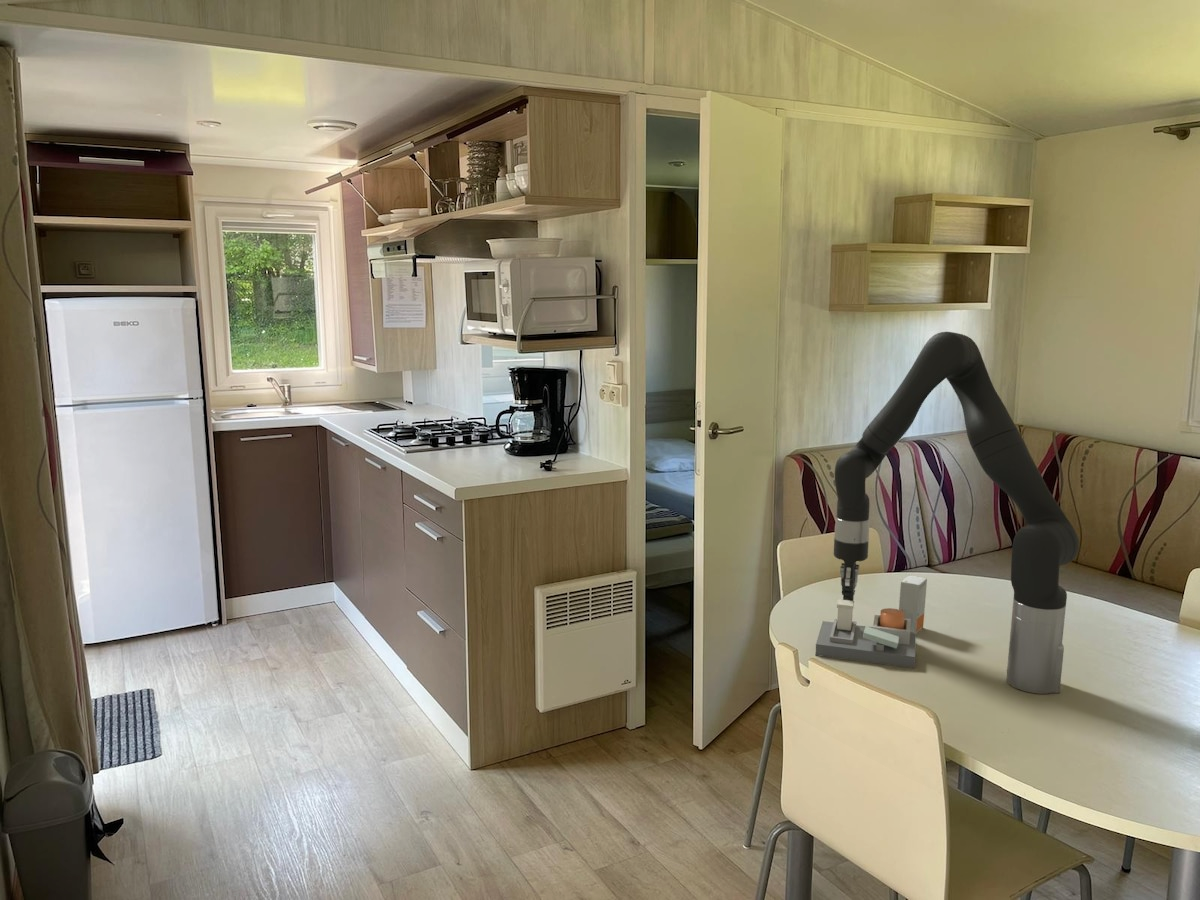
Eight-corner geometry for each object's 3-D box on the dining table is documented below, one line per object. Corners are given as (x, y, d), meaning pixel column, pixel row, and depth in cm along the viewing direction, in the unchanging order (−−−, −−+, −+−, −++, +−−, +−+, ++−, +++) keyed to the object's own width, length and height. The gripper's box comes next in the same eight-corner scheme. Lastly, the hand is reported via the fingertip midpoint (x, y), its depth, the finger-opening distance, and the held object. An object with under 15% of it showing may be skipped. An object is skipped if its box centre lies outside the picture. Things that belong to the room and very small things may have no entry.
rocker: (897, 641, 190) (898, 636, 189) (896, 648, 186) (898, 643, 186) (864, 630, 192) (865, 625, 191) (862, 637, 188) (864, 632, 188)
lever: (852, 625, 200) (854, 600, 199) (851, 631, 197) (853, 606, 196) (837, 623, 201) (838, 599, 200) (835, 629, 198) (837, 604, 197)
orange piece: (903, 631, 196) (905, 609, 195) (903, 640, 192) (904, 617, 191) (879, 628, 198) (881, 607, 197) (878, 636, 193) (880, 615, 192)
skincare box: (915, 635, 201) (919, 585, 199) (896, 631, 204) (900, 581, 202) (924, 627, 206) (927, 578, 204) (905, 623, 209) (908, 574, 206)
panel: (914, 643, 197) (916, 619, 196) (914, 668, 184) (916, 643, 183) (822, 631, 204) (823, 608, 203) (815, 655, 191) (816, 630, 190)
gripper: (866, 546, 194) (862, 622, 198) (870, 531, 207) (866, 602, 210) (831, 543, 197) (827, 618, 200) (837, 528, 209) (833, 598, 212)
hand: (847, 610), depth 205 cm, fingers closed
